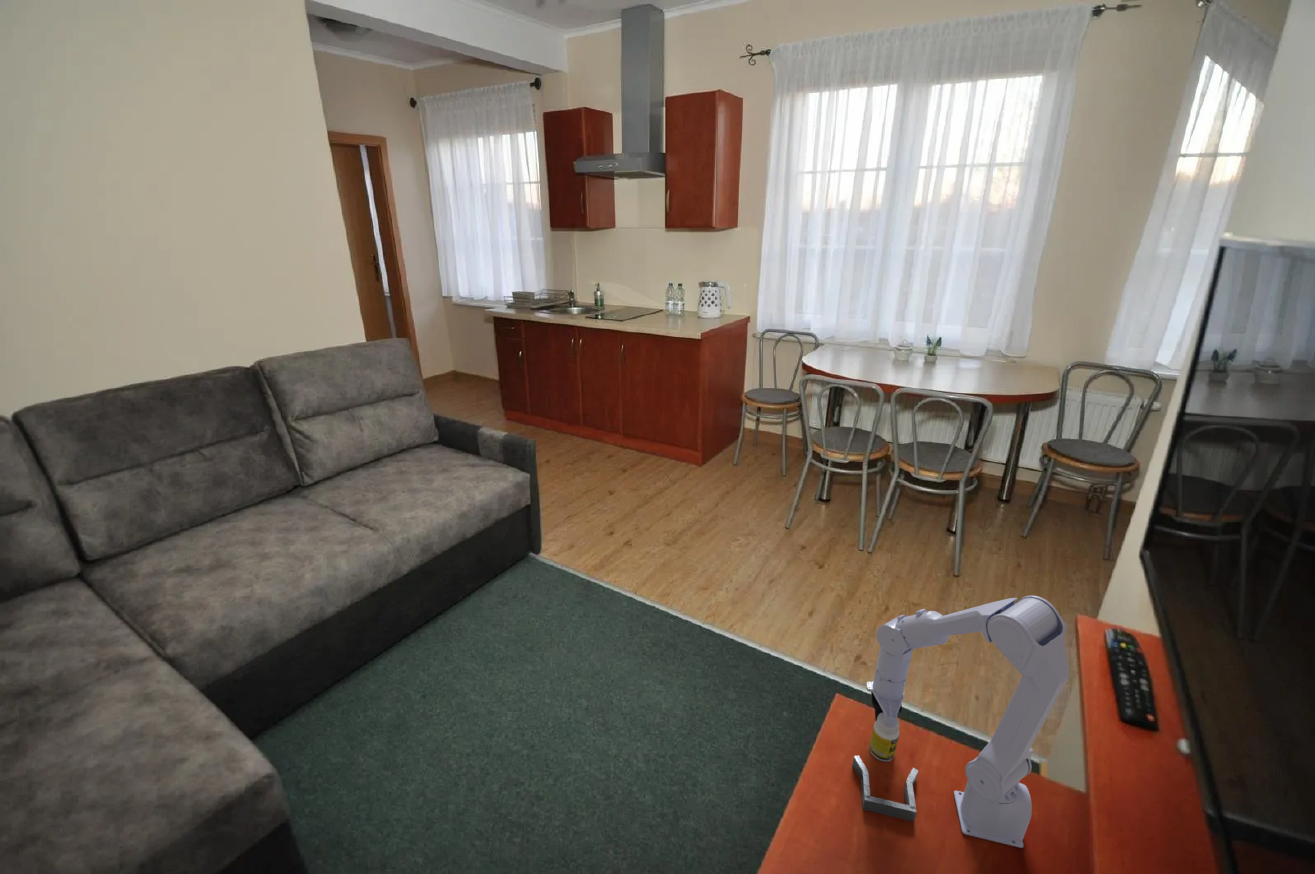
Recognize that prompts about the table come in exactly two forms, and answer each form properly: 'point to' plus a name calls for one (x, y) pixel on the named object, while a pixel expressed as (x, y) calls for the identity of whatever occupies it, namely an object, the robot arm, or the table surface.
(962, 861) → the table surface
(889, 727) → the supplement bottle
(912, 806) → the u holder
